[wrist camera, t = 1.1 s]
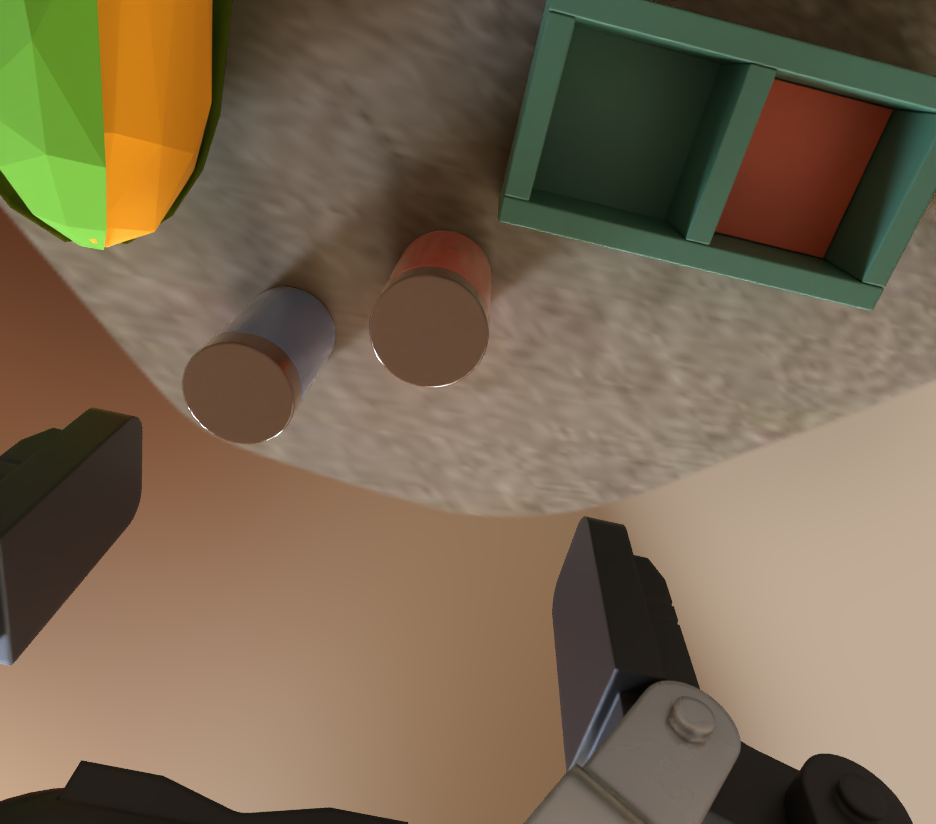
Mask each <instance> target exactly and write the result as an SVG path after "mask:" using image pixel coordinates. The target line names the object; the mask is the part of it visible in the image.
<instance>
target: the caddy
mask: <svg viewBox="0 0 936 824" xmlns="http://www.w3.org/2000/svg"><path fill="white" fill-rule="evenodd" d="M935 190H936V76H933V75H930V74H926V73H922V72H918V71H914V70H911V69H907V68H903V67H899V66H895V65H892V64H888V63H884V62H880V61H876V60H873V59H869V58H865V57H861V56H858V55H854V54H850V53H846V52H842V51H839V50H835V49H831V48H827V47H823V46H820V45H816V44H812V43H808V42H804V41H801V40H797V39H793V38H789V37H785V36H782V35H778V34H774V33H770V32H766V31H763V30H759V29H755V28H751V27H747V26H744V25H740V24H736V23H732V22H728V21H725V20H721V19H717V18H713V17H710V16H706V15H702V14H698V13H694V12H691V11H687V10H683V9H679V8H675V7H672V6H668V5H664V4H660V3H656V2H653V1H649V0H546V4H545V8H544V12H543V17H542V21H541V25H540V29H539V33H538V38H537V42H536V46H535V50H534V54H533V59H532V63H531V67H530V71H529V75H528V79H527V84H526V88H525V92H524V96H523V100H522V105H521V109H520V113H519V117H518V121H517V125H516V130H515V134H514V138H513V142H512V146H511V151H510V155H509V159H508V163H507V167H506V171H505V176H504V180H503V184H502V188H501V192H500V197H499V206H498V221H500V222H503V223H508V224H512V225H516V226H520V227H524V228H528V229H532V230H537V231H541V232H545V233H549V234H553V235H557V236H561V237H566V238H570V239H574V240H578V241H582V242H586V243H591V244H595V245H599V246H603V247H607V248H611V249H615V250H620V251H624V252H628V253H632V254H636V255H640V256H644V257H649V258H653V259H657V260H661V261H665V262H669V263H674V264H678V265H682V266H686V267H690V268H694V269H698V270H703V271H707V272H711V273H715V274H719V275H723V276H727V277H732V278H736V279H740V280H744V281H748V282H752V283H757V284H761V285H765V286H769V287H773V288H777V289H781V290H786V291H790V292H794V293H798V294H802V295H806V296H810V297H815V298H819V299H823V300H827V301H831V302H835V303H840V304H844V305H848V306H852V307H856V308H860V309H864V310H869V311H872V310H873V309H874V307H875V305H876V303H877V301H878V299H879V297H880V296H881V294H882V292H883V288H882V287H885V286H886V284H887V282H888V280H889V278H890V276H891V274H892V272H893V271H894V269H895V267H896V265H897V263H898V261H899V259H900V257H901V255H902V253H903V251H904V250H905V248H906V246H907V244H908V242H909V240H910V238H911V236H912V234H913V232H914V230H915V229H916V227H917V225H918V223H919V221H920V219H921V217H922V215H923V213H924V211H925V209H926V208H927V206H928V204H929V202H930V200H931V198H932V196H933V194H934V192H935Z"/></svg>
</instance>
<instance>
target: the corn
mask: <svg viewBox="0 0 936 824" xmlns="http://www.w3.org/2000/svg"><path fill="white" fill-rule="evenodd" d="M231 7H232V0H0V195H1V196H2V197H3V199H4V200H5V201H6V202H7V204H8V205H9V206H10V207H11V208H12V209H14V210H15V211H17V212H18V213H20V214H22V215H23V216H25V217H26V218H28V219H29V220H31V221H33V222H34V223H36V224H37V225H39V226H40V227H42V228H44V229H45V230H47V231H48V232H50V233H52V234H53V235H55V236H56V237H58V238H59V239H61V240H63V241H64V242H68V241H74V242H75V243H77V244H78V245H80V246H84V247H89V248H95V249H100V250H104V247H109V246H112V245H115V244H118V243H123V244H128V243H130V242H131V241H133V240H134V239H136V238H138V237H140V236H143V235H146V234H149V233H152V232H155V230H156V229H157V227H158V226H159V224H160V223H162V222H163V221H165V220H167V219H168V218H170V217H171V216H173V214H174V213H175V211H176V210H177V208H178V207H179V205H180V204H181V202H182V201H183V199H184V198H185V196H186V195H187V193H188V192H189V190H190V189H191V187H192V186H193V184H194V182H195V181H196V179H197V178H198V176H199V175H200V173H201V172H202V170H203V168H204V165H205V161H206V158H207V155H208V152H209V149H210V145H211V142H212V139H213V136H214V133H215V129H216V126H217V123H218V120H219V116H220V111H221V101H222V92H223V82H224V73H225V64H226V54H227V45H228V35H229V26H230V17H231Z"/></svg>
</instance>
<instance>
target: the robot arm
mask: <svg viewBox="0 0 936 824" xmlns="http://www.w3.org/2000/svg"><path fill="white" fill-rule="evenodd" d="M141 489H142V424H141V421H140V419H139V418H138V417H135V416H131V415H126V414H121V413H117V412H112V411H108V410H103V409H98V408H90V409H88V410H87V411H86V412H84V413H83V414H82V415H81V416H79V417H78V418H77V419H76V420H74V421H73V422H72V423H71V424H69V425H68V426H67V427H66V428H64V429H63V430H60V429H56V428H52V429H49V430H46V431H44V432H41V433H38V434H36V435H33V436H30V437H28V438H25V439H22V440H21V441H19V442H18V443H17V444H15V445H14V446H13V447H11V448H10V449H9V450H8V451H6V452H5V453H4V454H2V455H1V456H0V663H2V664H7V665H13V663H14V662H15V661H16V660H17V659H18V657H19V656H20V655H21V654H22V653H23V651H24V650H25V649H26V648H27V647H28V645H29V644H30V643H31V642H32V640H33V639H34V638H35V637H36V636H37V635H38V633H39V632H40V631H41V630H42V629H43V627H44V626H45V625H46V624H47V623H48V621H49V620H50V619H51V618H52V617H53V615H54V614H55V613H56V612H57V611H58V609H59V608H60V607H61V606H62V605H63V603H64V602H65V601H66V600H67V599H68V597H69V596H70V595H71V594H72V593H73V591H74V590H75V589H76V588H77V587H78V585H79V584H80V583H81V582H82V581H83V579H84V578H85V577H86V576H87V575H88V573H89V572H90V571H91V570H92V569H93V567H94V566H95V565H96V564H97V563H98V561H99V560H100V559H101V558H102V557H103V556H104V554H105V553H106V552H107V551H108V549H109V548H110V547H111V546H112V545H113V543H114V542H115V541H116V540H117V539H118V538H119V536H120V535H121V534H122V533H123V531H124V530H125V529H126V528H127V527H128V525H129V524H130V523H131V521H132V519H133V518H134V515H135V513H136V511H137V508H138V505H139V502H140V498H141ZM671 604H672V600H671V597H670V594H669V590H668V587H667V584H666V582H665V579H664V578H663V577H662V575H661V574H660V573H659V572H658V570H657V569H656V568H655V567H654V565H653V564H652V563H651V562H650V560H649V559H648V558H645V557H640V556H635V555H633V552H632V548H631V544H630V541H629V537H628V533H627V530H626V527H625V526H624V525H622V524H617V523H613V522H608V521H604V520H599V519H595V518H590V517H583V518H582V519H581V520H580V522H579V524H578V526H577V529H576V532H575V534H574V537H573V540H572V543H571V545H570V548H569V551H568V553H567V556H566V559H565V562H564V564H563V567H562V570H561V572H560V575H559V578H558V581H557V584H556V588H555V592H554V599H553V609H552V615H553V627H554V637H555V649H556V659H557V672H558V681H559V682H558V683H559V694H560V705H561V716H562V728H563V738H564V750H565V761H566V772H567V773H566V774H565V775H564V776H563V777H562V778H561V780H560V781H559V782H558V783H557V784H556V785H555V787H554V788H553V789H552V790H551V791H550V793H549V794H548V795H547V796H546V797H545V799H544V800H543V801H542V802H541V803H540V805H539V806H538V807H537V808H536V809H535V810H534V812H533V813H532V814H531V815H530V816H529V818H528V819H527V820H526V821H525V823H524V824H913V823H912V821H911V819H910V817H909V815H908V813H907V811H906V810H905V808H904V806H903V805H902V803H901V802H900V801H899V799H898V798H897V797H896V795H895V794H894V793H893V792H892V791H891V790H890V789H889V788H888V787H887V786H886V785H885V784H884V783H883V782H882V781H881V780H880V779H879V778H877V777H876V776H875V775H874V774H873V773H871V772H870V771H868V770H867V769H865V768H864V767H862V766H861V765H859V764H857V763H855V762H853V761H851V760H849V759H847V758H844V757H841V756H837V755H833V754H817V755H814V756H812V757H811V758H809V759H808V760H807V761H806V762H805V764H804V765H803V767H802V768H801V770H800V771H799V770H797V769H794V768H792V767H790V766H788V765H786V764H784V763H782V762H780V761H778V760H775V759H774V758H772V757H770V756H768V755H766V754H763V753H761V752H759V751H757V750H755V749H753V748H752V747H750V746H748V745H746V744H745V743H743V742H742V741H740V736H739V733H738V730H737V728H736V726H735V723H734V722H733V720H732V719H731V717H730V716H729V714H728V713H727V712H726V711H725V709H724V708H723V707H722V706H721V705H720V704H718V702H717V701H715V700H714V699H713V698H712V697H710V696H709V695H708V694H706V693H704V692H703V691H701V690H700V688H699V685H698V681H697V678H696V675H695V672H694V669H693V666H692V663H691V660H690V656H689V653H688V650H687V647H686V644H685V641H684V638H683V635H682V631H681V628H680V625H677V622H678V619H677V616H676V613H675V609H674V607H673V606H672V605H671ZM0 824H408V822H403V821H398V820H393V819H388V818H382V817H377V816H371V815H366V814H361V813H356V812H351V811H345V810H340V809H335V808H315V809H301V810H287V811H272V812H258V813H240V812H236V811H233V810H231V809H229V808H227V807H225V806H223V805H221V804H219V803H217V802H215V801H213V800H210V799H209V798H206V797H204V796H202V795H201V794H199V793H197V792H194V791H193V790H190V789H188V788H186V787H184V786H182V785H180V784H178V783H176V782H174V781H172V780H170V779H168V778H166V777H164V776H161V775H155V774H150V773H145V772H139V771H134V770H129V769H124V768H119V767H113V766H108V765H103V764H97V763H92V762H87V761H81V762H80V763H79V765H78V767H77V768H76V770H75V772H74V773H73V775H72V776H71V778H70V780H69V781H68V783H67V785H66V786H65V788H57V789H49V790H43V791H37V792H31V793H27V794H24V795H20V796H16V797H12V798H9V799H5V800H3V801H0Z"/></svg>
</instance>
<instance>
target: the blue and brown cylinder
mask: <svg viewBox="0 0 936 824" xmlns="http://www.w3.org/2000/svg"><path fill="white" fill-rule="evenodd" d="M335 340H336V331H335V326H334V322H333V319H332V317H331V315H330V313H329V312H328V310H327V309H326V307H325V306H324V305H323V304H322V303H321V302H320V301H319V300H318V299H317V298H315V297H314V296H313V295H311V294H309V293H307V292H305V291H303V290H300V289H297V288H292V287H277V288H272V289H269V290H267V291H265V292H263V293H261V294H260V295H259V296H257V297H256V298H255V299H254V300H253V301H252V302H251V303H250V304H249V305H248V306H247V307H245V308H244V309H243V310H242V311H241V312H240V313H239V314H238V315H237V316H236V317H235V318H234V319H232V320H231V321H230V322H229V323H228V324H227V325H226V326H225V327H224V328H223V329H222V330H220V331H219V332H218V333H217V334H216V335H215V336H214V337H213V338H212V339H211V340H210V341H209V342H207V343H206V344H205V345H204V346H203V347H202V348H201V349H200V350H199V351H198V352H197V353H196V354H195V355H194V356H193V357H192V358H191V359H190V361H189V362H188V364H187V366H186V368H185V370H184V374H183V380H182V390H183V395H184V399H185V402H186V404H187V406H188V409H189V410H190V412H191V414H192V415H193V416H194V418H195V419H196V420H197V421H198V422H199V423H200V424H201V425H202V426H203V427H204V428H205V429H206V430H208V431H209V432H211V433H212V434H214V435H215V436H217V437H219V438H221V439H224V440H227V441H230V442H233V443H239V444H256V443H262V442H265V441H268V440H270V439H272V438H274V437H276V436H277V435H279V434H280V433H281V432H282V431H283V430H284V429H285V428H286V427H287V425H288V424H289V422H290V421H291V419H292V417H293V416H294V414H295V413H296V411H297V409H298V408H299V406H300V404H301V403H302V401H303V399H304V398H305V396H306V394H307V393H308V391H309V390H310V388H311V386H312V385H313V383H314V381H315V380H316V378H317V376H318V375H319V373H320V372H321V370H322V368H323V367H324V365H325V363H326V362H327V360H328V358H329V357H330V355H331V353H332V351H333V349H334V346H335Z"/></svg>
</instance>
